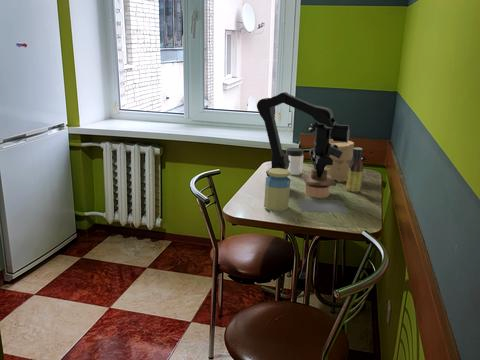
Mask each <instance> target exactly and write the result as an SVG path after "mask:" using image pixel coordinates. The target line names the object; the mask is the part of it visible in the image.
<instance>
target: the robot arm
mask: <svg viewBox="0 0 480 360" xmlns="http://www.w3.org/2000/svg"><path fill="white" fill-rule="evenodd" d="M281 104H285V105H288V106H289V107H291V108H294V109H296V110H298V111H301V112H303V113H304V114H307V115H309V116H310V117H311V118H312V119H313V120H315V122H314V123H313V124H312V125H311V128H313V129H315V139H314V140H313V144H314V147H311V148H310V149H309V152H308V155H309V156H311V157H310V159H311V162H312V164H313V169H316V172H317V176H318V178H321V176H322V173H323V171H324V168H325V166H327V165H333V160H332V159H331V158H330V155H332V156H335V157H337V158H338V159H340V157H341V155H342V153H343V152H342V151H341V150H340V149H338V146H337V145H335V144H333V145H332V146H331V144H330V143H329V140H330V139H333V141H339V142H347V143H348V141H350V140H349V139H350V134H351V133H350V125H349V124H338V122H337V121H336V119H335V117H334V112H333V109H331V108H330V107H326V106H321V105H316V104H312V103H310V102H307V101H306V100H303V99H301V98H299V97H297V96H294V95H292V94H290V93H288V92H286V91H285V92H280V93H279V94H276V95H274V96H272V97H266V98H265V97H264V98H261V99H259V100H258V101H257V103H256V109H257V111H258V113H259V116H260V117H261V119H262V120H263V122H264V125H265V130H266V135H267V138H268V143H269V147H270V151H271V159H270V162H271V163H270V164H271V167H270V168H269V169H271V168H281V169H288V167H289V163H290V161H289V158H288V153H287V154H286V153H285V152H284V151H283V148H282V144H281V140H280V139H281V138H280V136H279V135H280V134H279V131H278V127H277V122H276V119H275V118H276V106H279V105H281ZM265 173H266V176H267V177H268V176H270V175H269V174H267V170H266V172H265Z"/></svg>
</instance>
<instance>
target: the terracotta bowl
mask: <svg viewBox="0 0 480 360" xmlns="http://www.w3.org/2000/svg"><path fill="white" fill-rule="evenodd" d="M304 183H305V182H304ZM330 191H331V186H324V185H306V183H305V184H304V195H306V196H308V197H311V198H319V199H321V198H323V199H324V198H328V197H330Z"/></svg>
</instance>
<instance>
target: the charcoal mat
mask: <svg viewBox="0 0 480 360" xmlns="http://www.w3.org/2000/svg"><path fill="white" fill-rule="evenodd" d="M296 202H297V204H298V206H299V208H300V211H301V212H305V213H306V212H308V213H309V212H311V213H337V214H338V213H339V214H341V213H342V214H350V211H349V210H348V209H347V207H346V205H345V204H344V203H343V202H342V201H341V200H340V199H339V200H336V199H335V200H334V199H311V198H310V199H309V198H308V199H307V198H303V199H302V198H296Z"/></svg>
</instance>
